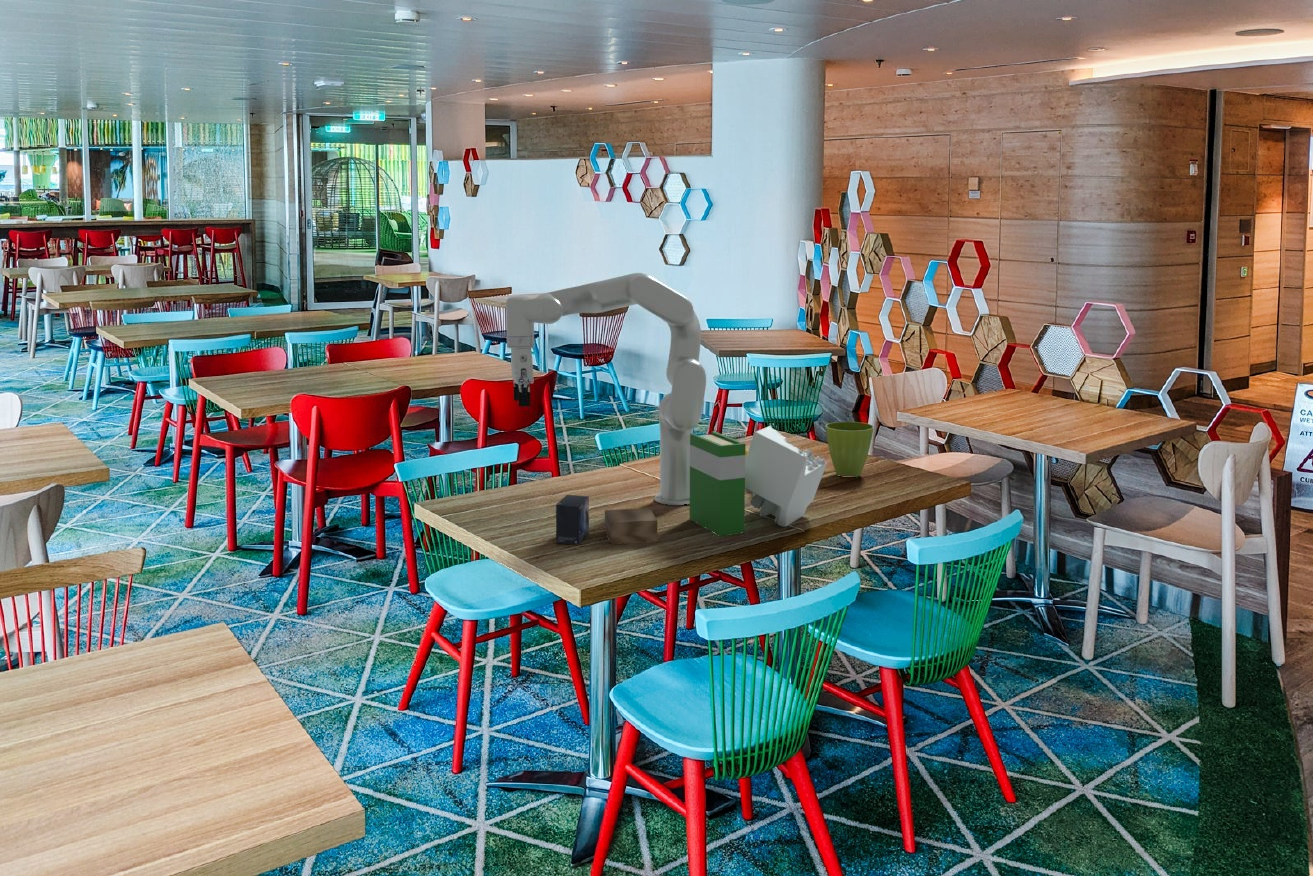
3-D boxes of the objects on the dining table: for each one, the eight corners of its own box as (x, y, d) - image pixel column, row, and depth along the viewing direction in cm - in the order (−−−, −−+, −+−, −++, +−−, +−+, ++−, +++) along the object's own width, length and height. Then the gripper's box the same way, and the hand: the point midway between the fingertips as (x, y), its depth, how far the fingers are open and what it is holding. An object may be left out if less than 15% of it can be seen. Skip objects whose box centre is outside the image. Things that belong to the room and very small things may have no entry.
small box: (579, 545, 293) (579, 505, 291) (555, 544, 294) (554, 504, 292) (590, 534, 303) (590, 495, 301) (566, 532, 305) (565, 494, 302)
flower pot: (823, 480, 361) (824, 429, 358) (824, 469, 375) (826, 420, 372) (872, 481, 358) (874, 431, 355) (871, 470, 373) (873, 422, 370)
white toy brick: (758, 496, 331) (787, 418, 321) (806, 521, 324) (837, 443, 315) (725, 513, 314) (754, 431, 304) (775, 540, 307) (806, 458, 298)
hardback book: (689, 519, 317) (690, 433, 312) (713, 516, 320) (714, 431, 315) (719, 536, 301) (720, 446, 296) (744, 532, 304) (745, 443, 299)
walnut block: (649, 529, 308) (649, 508, 307) (657, 542, 296) (657, 520, 295) (604, 532, 306) (604, 510, 305) (610, 545, 294) (610, 522, 293)
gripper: (538, 345, 310) (540, 408, 314) (529, 337, 327) (530, 397, 330) (511, 346, 309) (512, 409, 312) (503, 338, 325) (504, 398, 328)
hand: (521, 403), depth 321 cm, fingers open, 9 cm apart
